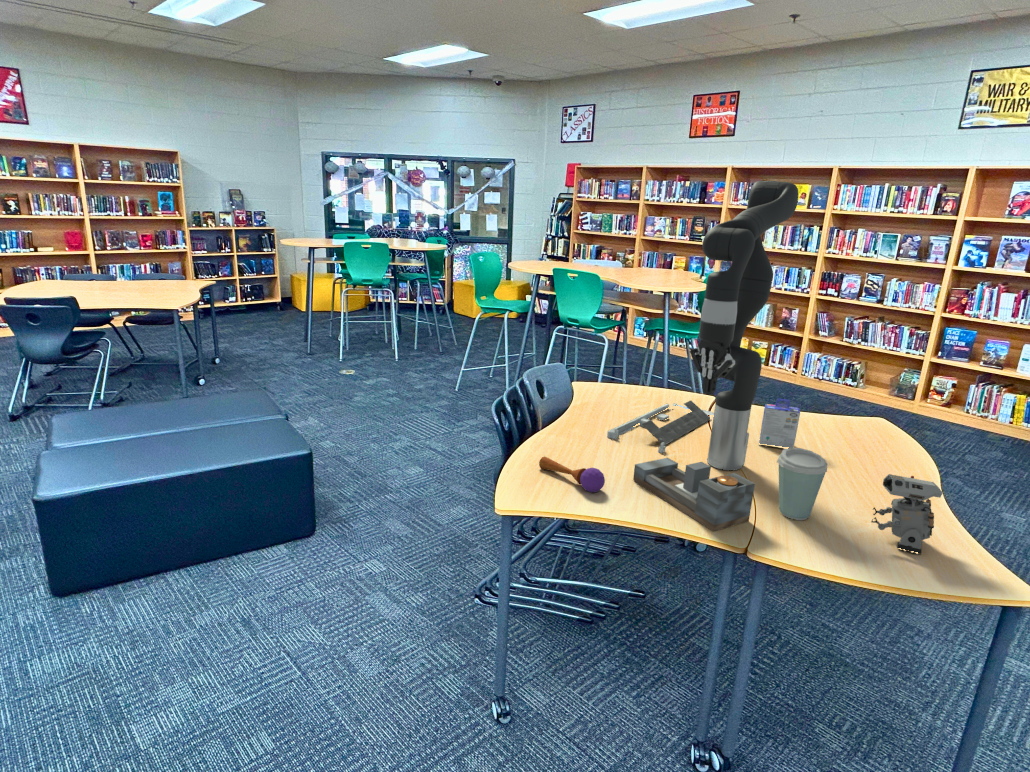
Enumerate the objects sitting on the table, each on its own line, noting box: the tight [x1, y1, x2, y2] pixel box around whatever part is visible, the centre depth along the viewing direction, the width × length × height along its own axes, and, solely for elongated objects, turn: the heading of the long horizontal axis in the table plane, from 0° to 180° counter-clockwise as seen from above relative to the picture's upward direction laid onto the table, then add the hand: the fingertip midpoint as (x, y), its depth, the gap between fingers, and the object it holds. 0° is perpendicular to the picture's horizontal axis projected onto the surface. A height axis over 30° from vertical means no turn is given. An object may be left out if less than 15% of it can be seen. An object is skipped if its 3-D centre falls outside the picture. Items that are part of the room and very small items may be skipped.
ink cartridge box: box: [758, 397, 801, 448], centre depth 185 cm, size 10×6×14 cm, turn 70°
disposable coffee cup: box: [776, 447, 828, 521], centre depth 142 cm, size 11×11×15 cm
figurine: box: [871, 473, 943, 554], centre depth 132 cm, size 9×12×15 cm
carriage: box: [675, 461, 712, 501], centre depth 146 cm, size 6×7×8 cm
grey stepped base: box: [632, 457, 756, 532], centre depth 148 cm, size 11×28×10 cm, turn 28°
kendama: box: [538, 456, 606, 493], centre depth 157 cm, size 6×6×20 cm
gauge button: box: [717, 474, 738, 489], centre depth 138 cm, size 4×4×4 cm
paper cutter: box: [606, 400, 714, 454], centre depth 198 cm, size 18×45×6 cm, turn 140°
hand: (708, 393), depth 143 cm, fingers closed
